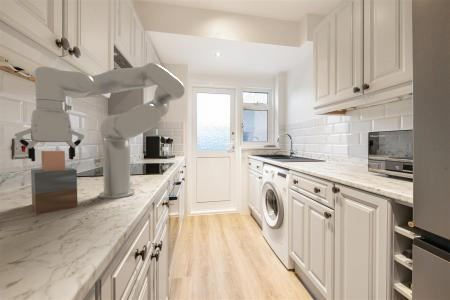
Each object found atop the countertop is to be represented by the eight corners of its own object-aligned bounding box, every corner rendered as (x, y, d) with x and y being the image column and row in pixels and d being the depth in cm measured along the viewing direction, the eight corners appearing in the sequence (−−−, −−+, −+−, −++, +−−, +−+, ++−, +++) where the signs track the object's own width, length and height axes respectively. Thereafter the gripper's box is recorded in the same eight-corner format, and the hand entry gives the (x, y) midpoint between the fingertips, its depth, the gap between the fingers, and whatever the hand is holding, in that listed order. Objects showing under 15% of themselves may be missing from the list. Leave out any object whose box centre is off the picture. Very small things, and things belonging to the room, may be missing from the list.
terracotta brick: (41, 168, 69) (41, 150, 69) (60, 167, 73) (60, 150, 72) (44, 171, 64) (44, 151, 63) (65, 169, 67) (64, 151, 67)
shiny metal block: (32, 204, 70) (30, 168, 69) (68, 198, 77) (67, 166, 77) (36, 214, 60) (34, 173, 60) (77, 206, 67) (76, 169, 67)
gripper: (80, 111, 76) (81, 158, 77) (13, 105, 64) (15, 161, 64) (85, 109, 71) (87, 159, 72) (13, 102, 59) (16, 162, 59)
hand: (53, 160), depth 68 cm, fingers open, 9 cm apart
